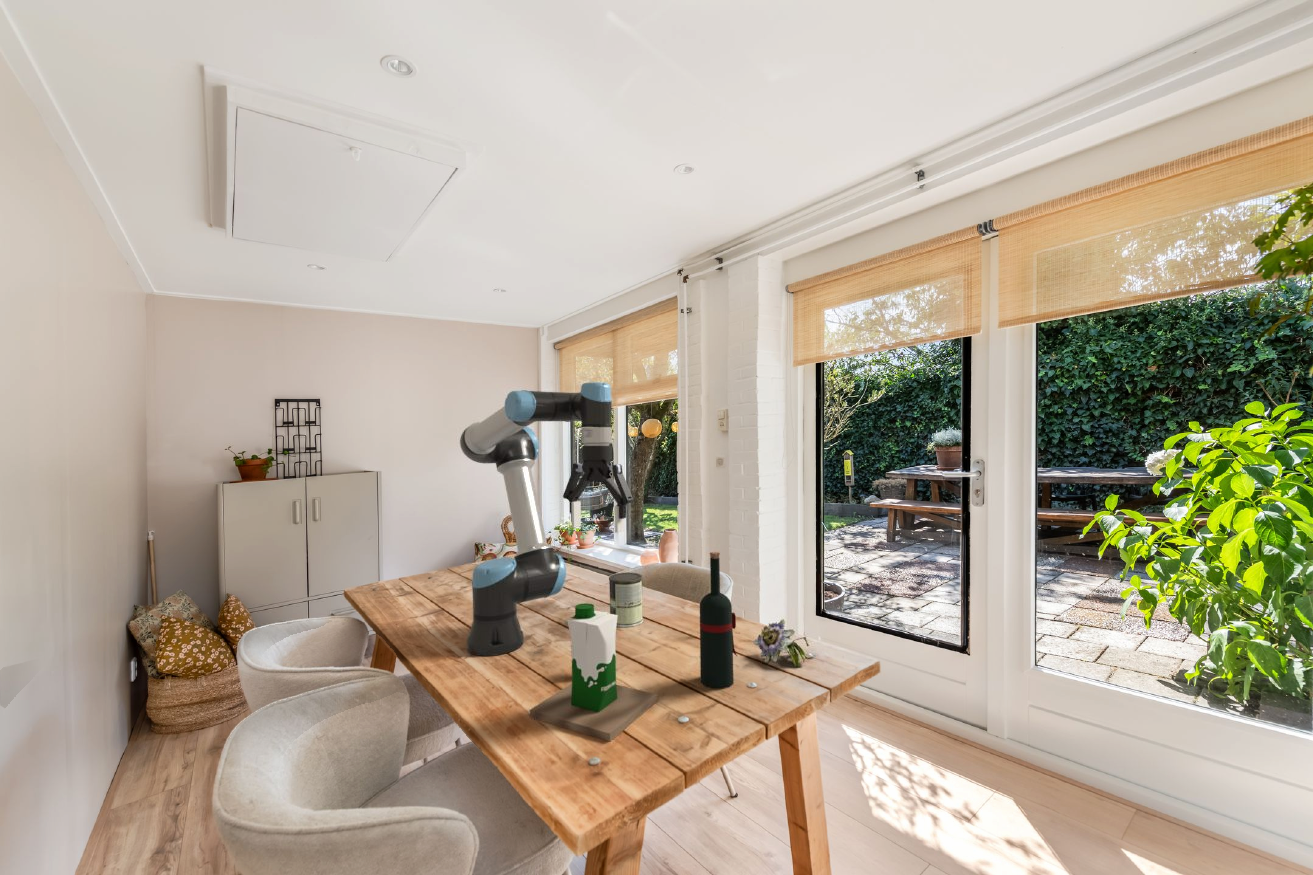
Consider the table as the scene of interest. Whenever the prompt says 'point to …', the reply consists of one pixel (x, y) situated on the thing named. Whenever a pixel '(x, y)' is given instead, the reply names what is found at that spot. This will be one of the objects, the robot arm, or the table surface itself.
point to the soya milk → (593, 658)
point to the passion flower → (779, 643)
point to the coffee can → (626, 598)
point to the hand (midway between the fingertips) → (597, 529)
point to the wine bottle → (716, 633)
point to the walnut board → (591, 722)
